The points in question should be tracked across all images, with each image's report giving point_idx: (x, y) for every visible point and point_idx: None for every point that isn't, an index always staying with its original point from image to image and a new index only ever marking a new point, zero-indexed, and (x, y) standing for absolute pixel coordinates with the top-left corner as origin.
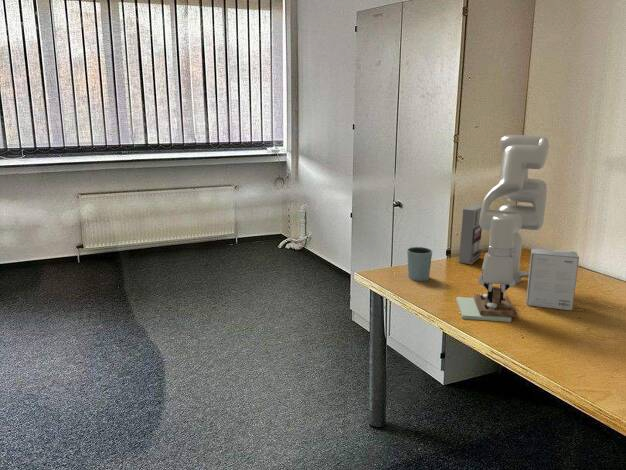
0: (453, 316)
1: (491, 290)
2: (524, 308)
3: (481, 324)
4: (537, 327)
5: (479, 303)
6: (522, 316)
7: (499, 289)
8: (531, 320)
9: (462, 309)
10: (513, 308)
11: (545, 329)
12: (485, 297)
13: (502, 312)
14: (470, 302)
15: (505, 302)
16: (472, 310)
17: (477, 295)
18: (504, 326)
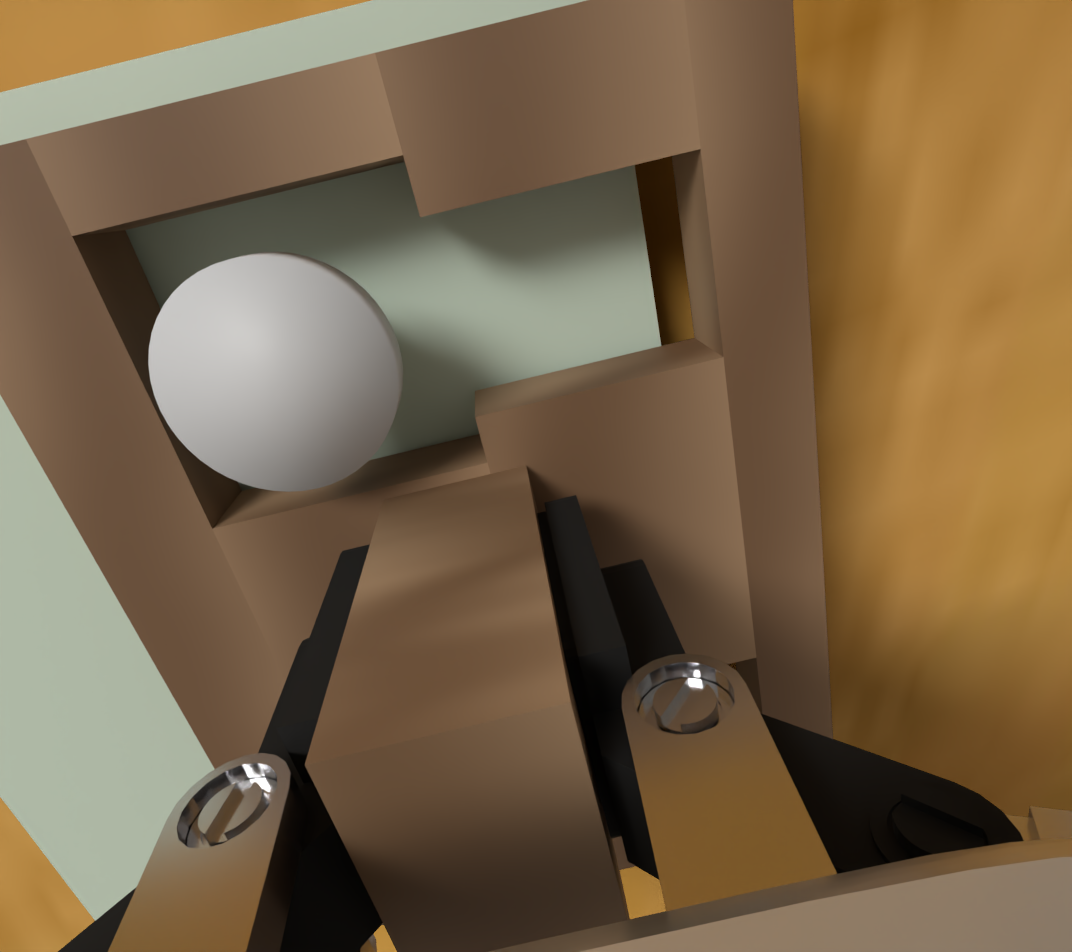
0: (10, 886)
1: (371, 949)
2: (1016, 152)
3: (388, 940)
4: (989, 785)
5: (218, 708)
6: (892, 542)
7: (606, 919)
8: (980, 627)
9: (28, 792)
10: (809, 686)
11: (1060, 798)
12: (254, 475)
13: (626, 860)
14: (11, 446)
15: (697, 460)
16: (181, 765)
17: (7, 240)
18: (633, 892)
